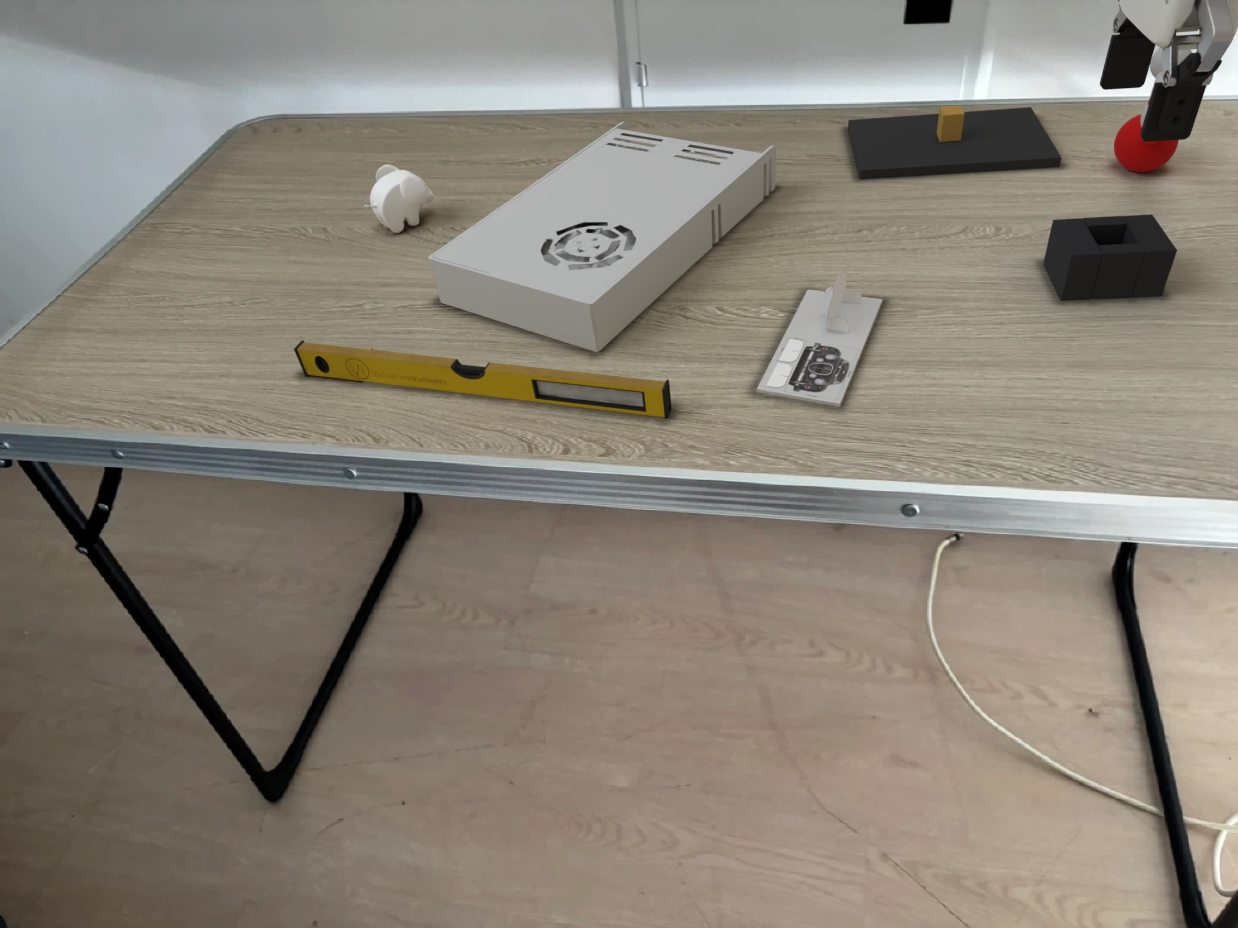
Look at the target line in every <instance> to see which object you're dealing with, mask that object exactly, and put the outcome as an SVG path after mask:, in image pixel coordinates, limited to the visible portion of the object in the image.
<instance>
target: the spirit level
mask: <svg viewBox="0 0 1238 928" xmlns="http://www.w3.org/2000/svg"><path fill="white" fill-rule="evenodd" d="M293 350H294V353H295V355H296V358H297V360H298V362H299V364H300V368H301V369H302V372H303V374H304V376H305V377H308V376H315V377H324V378H331V379H340V380H348V381H356V382H367V383H373V384H381V385H382V384H383V385H391V386H392V385H393V386H398V387H407V388H417V389H424V390H432V391H441V392H449V393H457V394H466V395H474V396H482V397H492V398H498V399H499V398H500V399H507V400H516V401H523V402H534V403H541V404H548V405H550V404H551V405H557V406H565V407H575V408H583V409H590V410H591V409H592V410H598V411H599V410H601V411H609V412H616V413H623V414H633V415H641V416H649V417H657V418H658V417H659V418H664V419H665V420H667V419H669V417H670V414H671V411H672V410H673V408H672V407H673V406H672V398H671V385H670V380H669V379H665V380H664V381H663V380H656V379H655V380H654V379H645V378H637V377H629V376H628V377H627V376H617V375H608V374H601V373H600V374H599V373H590V372H581V371H573V370H562V369H555V368H554V369H553V368H544V367H534V366H525V365H517V364H507V363H498V362H491V361H490V362H488V363H486V365H485V366H479V365H471V364H462V363H461V362H460V361H459V359H458V358H453V357H452V358H450V357H443V356H442V357H441V356H434V355H433V356H432V355H423V354H414V353H406V352H397V351H387V350H377V349H368V348H358V347H349V346H341V345H331V344H322V343H315V342H305V340H301V341H300V342H299V343H298V344H297V345H296V346H295V347H294V348H293Z"/></svg>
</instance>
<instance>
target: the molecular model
mask: <svg viewBox="0 0 1238 928" xmlns="http://www.w3.org/2000/svg"><path fill="white" fill-rule="evenodd" d="M1190 53H1193V51H1192V50H1178V65H1179V64H1180V63H1181V62H1182V61H1183V60H1184V59H1185V58H1186V57H1187V56H1188V55H1189V54H1190ZM1149 70H1150V73H1151V75H1152V76H1153V78H1155V79H1154V81H1153V85H1152V87H1151V91H1150V95H1149V98H1148V100H1147V104H1146V106H1145V107H1144V109H1143V110H1142V113H1141V114H1137V115H1135V116H1133V117H1132V118H1130V119H1129V120H1127V121H1126V122H1125V123H1123V124H1122V126H1121V127H1120V128H1119V130H1117V131H1118V132H1117V133H1116V135H1115V138H1114V142H1113V152H1114V156H1115V159H1116V160H1117V162H1118V163H1119V164H1120V165H1121V166H1122V167H1123V168H1125V169H1126V170H1128V171H1130V172H1135V173H1149V172H1152V171H1156V170H1158V169H1159V168H1161V167H1162V166H1164V165H1165V164H1167V163H1168V162H1169V160H1171V158H1172V157H1173V156H1174V154H1175V152H1176V151H1177V149H1178V146H1179V141H1180V140H1169V141H1150V142H1145V141H1143V139H1142V138H1141V137H1140V133H1141V129H1142V126H1143V122H1144V119H1145V115H1146V112H1147V109H1148V105H1149V102H1150V98H1151V95H1152V91H1153V88H1154V84H1155V83H1156V82H1162V48H1160V47H1158V48H1157V49H1156V51H1154V52H1153V55H1152V59H1151V63H1150V66H1149Z"/></svg>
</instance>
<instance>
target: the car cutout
mask: <svg viewBox="0 0 1238 928" xmlns="http://www.w3.org/2000/svg"><path fill="white" fill-rule="evenodd" d="M847 275H848V273H847V270H844V268H843V267H841V268H840V270H839V272H838V275H837V277H836V279H835V282H834V283H833V286H832V285H830V286H828V287H827V288H826V289H825V291H824V290H817V289H816V290H815V289H810V288H808V289H807V290H806V291H805V293H804V295H803V297H802V299H801V301H800V303H799V304H798V307H797V309H796V311H795V313H794V315H793V317H792V319H791V321H790V323H789V324H788V326H787V328H786V331H785V333H784V334H783V336H782V338H781V340H780V342H779V344H778V346H777V348H776V349H775V352H774V354H773V356H772V358H771V359H770V362H769V364H768V365H767V367H766V370H765V371H764V373H763V375H762V377H761V379H760V381H759V383H758V385H757V387H756V390H755V391H756V393H759V394H764V395H771V396H776V397H781V398H787V399H793V400H797V401H798V400H799V401H803V402H808V403H809V402H810V403H815V404H822V405H827V406H831V407H837V408H838V407H839V408H840V407H841V405H842V403H843V401H844V398H845V395H846V393H847V390H848V389H849V386H850V383H851V381H852V379H853V376H854V374H855V371H856V369H857V367H858V364H859V362H860V359H861V356H862V354H863V351H864V349H865V347H866V344H867V342H868V339H869V336H870V335H871V332H872V330H873V327H874V324H875V322H876V319H877V317H878V314H879V313H880V312H879V311H880V310H881V308H882V305H883V299H884V298H877V297H869V296H863V295H862V293H861V291H860V290H858V289H855V288H847Z"/></svg>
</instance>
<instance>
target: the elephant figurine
mask: <svg viewBox="0 0 1238 928" xmlns="http://www.w3.org/2000/svg"><path fill="white" fill-rule="evenodd" d="M375 180H376V182H375V184H373V187H372V188H371V191H370V195H369V200H370V205H367V204H364V208H366V207H367V208H371V209H372V211H373V213H374V215H375V216H376V217H377V220H378V222H380V224H382V225H383V226H384V227H385V228H388V229H389V230H390V231H391V232H392V233H394V234H399V233H401V232H403V230H404V228H405V222H407V224H408V225H409V226H411V227H414V226H418V225H419V224H420V215H419V214H420V207H421V208H423V209H427V208H429V207H430V206H431V204H432V202H433V198H437V195H434V192H433V190H431V188H429V186H427V184H426V183H425V181H424V180H423V179H422V178H421V177H420V176H418V175H416V174H414V173H413V172H411V171H409V170H407V169H399V168H398V167H397V166H395V165H392V164H388V163H387V164H383V165H382V166H380V167H379V168H378V169H377V170H376V173H375Z"/></svg>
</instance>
